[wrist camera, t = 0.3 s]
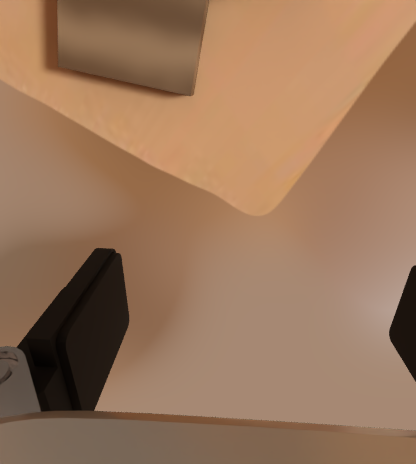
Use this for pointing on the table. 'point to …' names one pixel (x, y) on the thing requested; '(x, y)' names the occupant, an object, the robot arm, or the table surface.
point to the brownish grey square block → (134, 40)
